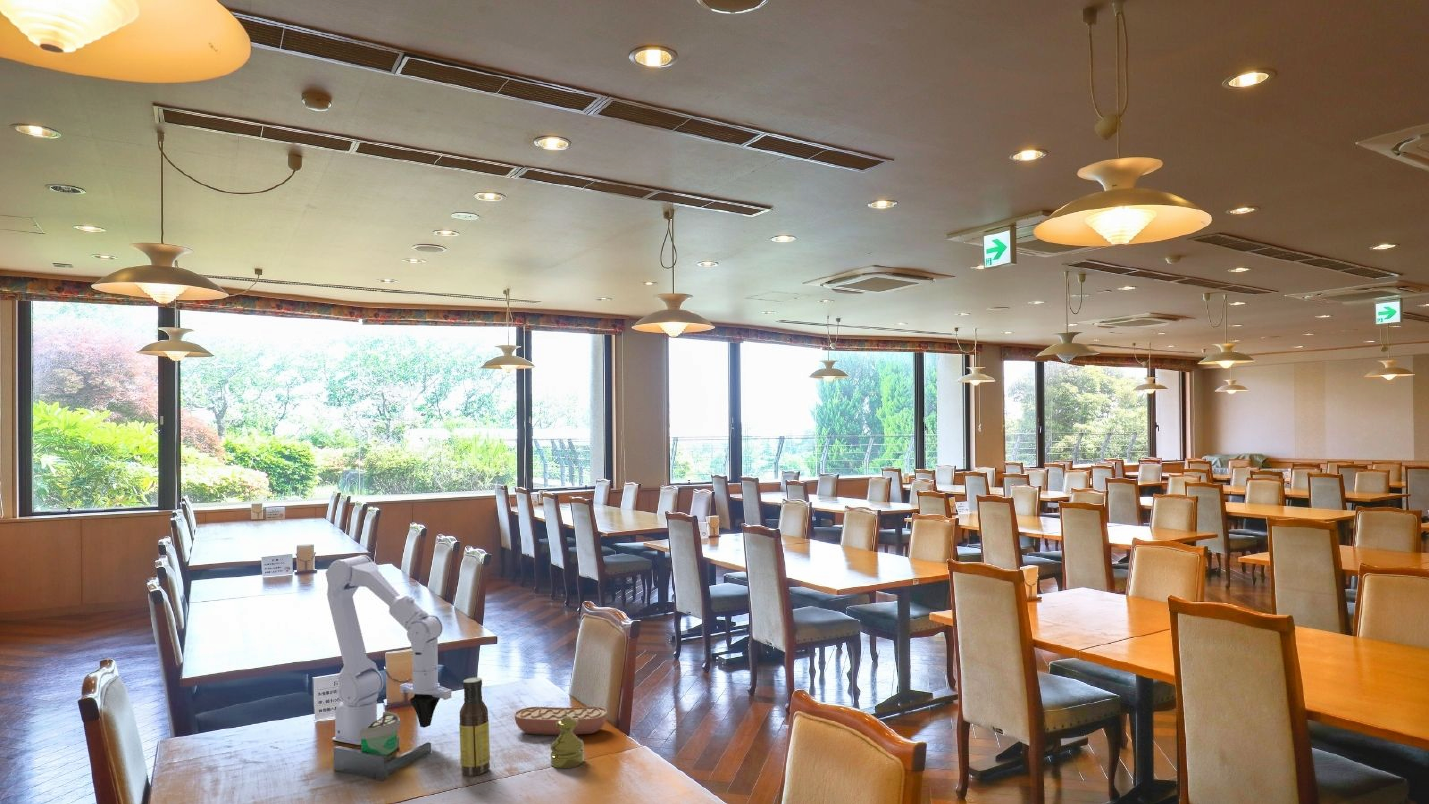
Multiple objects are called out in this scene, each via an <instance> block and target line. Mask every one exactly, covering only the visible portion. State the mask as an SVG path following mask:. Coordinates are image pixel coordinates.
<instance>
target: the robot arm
mask: <svg viewBox="0 0 1429 804" xmlns="http://www.w3.org/2000/svg"><path fill="white" fill-rule="evenodd" d="M325 578H326V582H327V590H326V591H327V593H326V596H327V597H326V598H327V601H328V605H329V606H328V607H329V609H330V613H331V617H332V621H333V622H332V623H333V626H334V630H335V635H336V638H337V644H338V647H339V651H340V655H341V659H342V663H343V667H342V668H341V670H340V672H339V674H338V675H337V679H338V688H337V695H338V698H339V700H340V702H339V704H338V705H337V707H336V710H335V715H334V716H335V718H334V719H335V720H334V723H335V725H334V728H335V729H334V733H335V734H334V737H332V740H333V741H334V742H335V741H337V742H341V743H344V744H345V743H347V744H349V745H350V744H352V745H357V746H361V739H360V732H361V729H366V728H368V727H369V726H370V725H371V724H372V723H373V722H375V721H377V720H378V702H377V701H378V698H379V693H380V692H381V691H382V690H383V689H384V688H383V687H384V677H383V675H382V674H381V672H380V671H379V669H378V666H377V664H376V662H374V661H373V660H371V659H370V658H369V657H368V655H367V650H366V647H365V642H364V638H363V633H362V630H361V625H360V622H359V618H358V613H357V610H356V605H355V602H354V598H353V597H354V595H355V593H356V592H357V590H358V588H360V587H363V588H367V589H368V590H369V591H370V592H371V593H373V594H374V595H375V596H377V597H378V598H379V600H382V601H383V602H384V603H385V604H386V605H387V606H388V608H389V609H388V613H389V615H390V616H391V617H393V619H394V620H395V621H396V622H398V623H399V625H400V626H401V627H402V628H403V629H405V630H406V636H407V639H408V641H409V642H410V647H411V651H412V682H405V683H402V684H399V693H400V694H407V693H408V694H412V695H413V697H411V698H409V702H410V704H411V705H412V707H413V709H414V711H415V713H416V716H417V719H418V723H419V727H420V728H423V729H426V728H427V727H429V726H431V725H432V720H433V716H434V712H435V709H436V707H437V705H438V703H439V701H440V700H441V699H442V700H443V701H444V700H445V701H446V700H449V699H451V698H452V689H450V688H447V687H444V686H442V685H440V684H441V683H440V682H439V681H438V679H439V677H438V676H439V671H438V669H439V667H438V666H439V663H438V662H439V661H438V660H439V655H438V654H439V653H438V652H439V650H438V649H439V648H438V647H439V646H438V645H439V641H438V638H439V637H441V635H442V633H443V623H442V621H441V619H439V617H438V616H437V615H435V614H429V613H428V612H427V611H425V610H423V609H422V608H421V606H419V605H418V604H417V603H416V602H415V599H414V597H412V596H410V597H409V595H400V594H399V592H397V590H396V589H395V588H394V587H393V585H392V584H391V583H389V581H388V580H387V579H386V578H385V576H383V574H382V573H381V572H380V571H379V569H378V564H377V563H376V562H374V561H373V560H372V558H371V557H369V556H368V555H365V554H359V555H358V556H353V557H348V558H344V559H336V560H334V561H333V562H332V563H331V564H330V565H329V566H328V568H327V570H326V571H325Z"/></svg>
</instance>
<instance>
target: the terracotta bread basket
mask: <svg viewBox="0 0 1429 804" xmlns="http://www.w3.org/2000/svg"><path fill="white" fill-rule="evenodd" d="M563 717H571V718H574V719H576V720H577V721H578V725H577V726H576V727H575V728H574V729H573V733H574V734H575V735H577V736H578V735H591V734H594V733H595V734H596V732H598V731H599V730H601V729H602V728H603V727H604V725H605V723H606V722H607V718H608V710H607V709H606V708H603V707H600V706H581V707H575V706H574V707H551V706H530V707H529V706H528V707H524V708H521V709H519V710H517V711H515V713H514V720H515V724H516V726H517V727H518V728H519V729H520V730H521V732H523V733H526V734H528V735H530V734H531V735H533V734H534V735H543V736H545V735H546V736H559V735H560V734H561V730H560V729H559V728H558V727H556V722H557V721H558V720H560V719H562V718H563Z"/></svg>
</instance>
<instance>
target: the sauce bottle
mask: <svg viewBox="0 0 1429 804" xmlns="http://www.w3.org/2000/svg"><path fill="white" fill-rule="evenodd" d="M482 686H483V678H481V677H468V678H466V679H464V680H463V681H462V687H463V691H464V693H463V696H464V698H463V700H464V701H463V703H462V704H463V705H462V706H461V707H460V710H459V725H458V726H459V747H460V748H459V749H460V751H459V752H460V753H459V754H460V764H461V773H462V774H463V775H464V776H467V777H472V776H479V775H483V774H484V773H486V772H488V771H489V769H490V768H491V767H490V766H491V764H490V760H491V754H490V753H491V751H490V746H491V745H490V721H489V709H488V706H487V705H486V704H485V702H484V700H483V694H482V688H483V687H482Z"/></svg>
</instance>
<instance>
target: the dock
mask: <svg viewBox="0 0 1429 804" xmlns="http://www.w3.org/2000/svg"><path fill="white" fill-rule="evenodd" d="M399 748H400V737H399V736H398V737H397V749H399ZM429 754H430V755H431V754H432V743H431V742H429V741H427V742H426V743H423V744H422V745H418V746H416V747H414V748H412V749H410V750H408V751H405V752H403V753H401V754H399V755H396V757H394V758H392V759H390V760H388V761H387V756H386V755H381V754H376V753H371V752H366V751H362V750H360V749H356V748H352V747H351V748H349V747H345V746H341V745H340V746H339V745H336V746H333V771H335V772H340V773H345V774H350V775H353V776H358V777H363V778H367V779H368V778H369V779H373V780H377V781H382V782H385V781H387V780H388V775H390V774H391V773H393V772H396V771H398V770H400V769H402V768H404V767H406V766H408V765H411V764H412V763H414V762H417V761H419V760H422V759H423V758H425V757H428V756H430V755H429ZM427 755H428V756H427Z"/></svg>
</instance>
